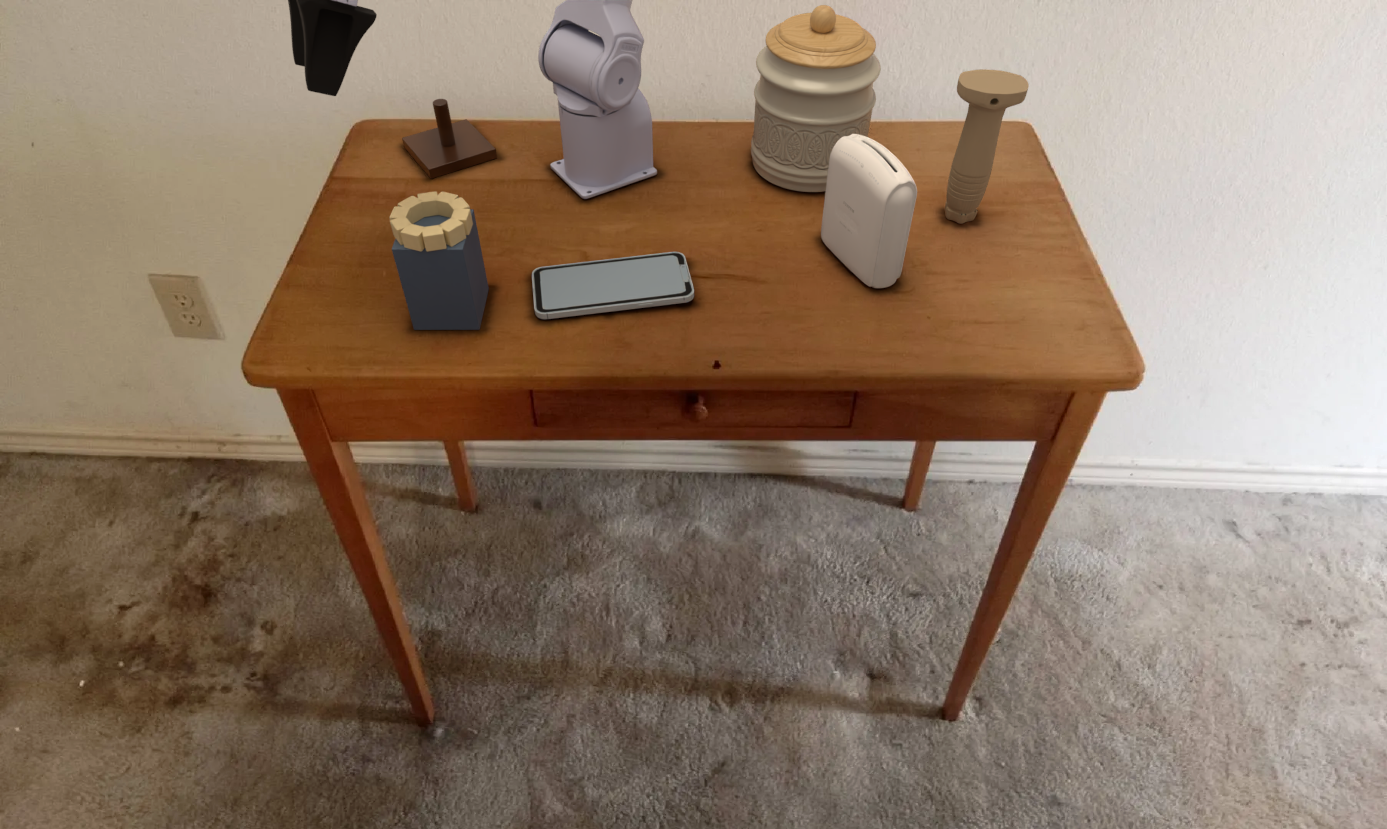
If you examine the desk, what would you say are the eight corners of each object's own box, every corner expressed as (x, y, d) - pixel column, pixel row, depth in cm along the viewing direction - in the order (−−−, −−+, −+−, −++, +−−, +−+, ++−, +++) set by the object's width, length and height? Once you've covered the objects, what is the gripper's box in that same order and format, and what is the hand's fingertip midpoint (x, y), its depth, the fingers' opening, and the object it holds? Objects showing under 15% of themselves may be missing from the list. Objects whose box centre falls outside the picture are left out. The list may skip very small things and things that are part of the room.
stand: (468, 128, 109) (459, 78, 105) (497, 158, 104) (488, 107, 100) (403, 147, 106) (391, 96, 101) (430, 178, 101) (419, 127, 97)
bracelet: (453, 198, 83) (450, 183, 82) (485, 235, 79) (482, 219, 78) (382, 221, 80) (378, 205, 79) (412, 260, 76) (407, 245, 75)
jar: (740, 186, 101) (748, 26, 88) (760, 128, 110) (770, -25, 97) (858, 202, 99) (884, 40, 86) (869, 141, 108) (894, -13, 95)
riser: (489, 288, 88) (473, 208, 82) (479, 330, 84) (462, 249, 77) (426, 288, 88) (405, 208, 82) (413, 330, 84) (391, 249, 77)
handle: (992, 231, 95) (1031, 95, 84) (929, 227, 96) (961, 91, 85) (987, 205, 99) (1025, 71, 88) (927, 201, 99) (956, 67, 88)
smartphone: (531, 267, 89) (683, 250, 91) (532, 275, 90) (683, 258, 91) (534, 315, 84) (695, 296, 86) (536, 323, 85) (696, 304, 86)
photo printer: (813, 238, 94) (826, 127, 85) (848, 227, 96) (865, 117, 87) (868, 295, 88) (889, 182, 79) (905, 283, 89) (930, 171, 80)
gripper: (268, -137, 70) (250, 44, 76) (291, -115, 60) (269, 93, 66) (363, -106, 74) (340, 64, 80) (401, -80, 64) (370, 113, 70)
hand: (314, 79), depth 73 cm, fingers open, 7 cm apart
